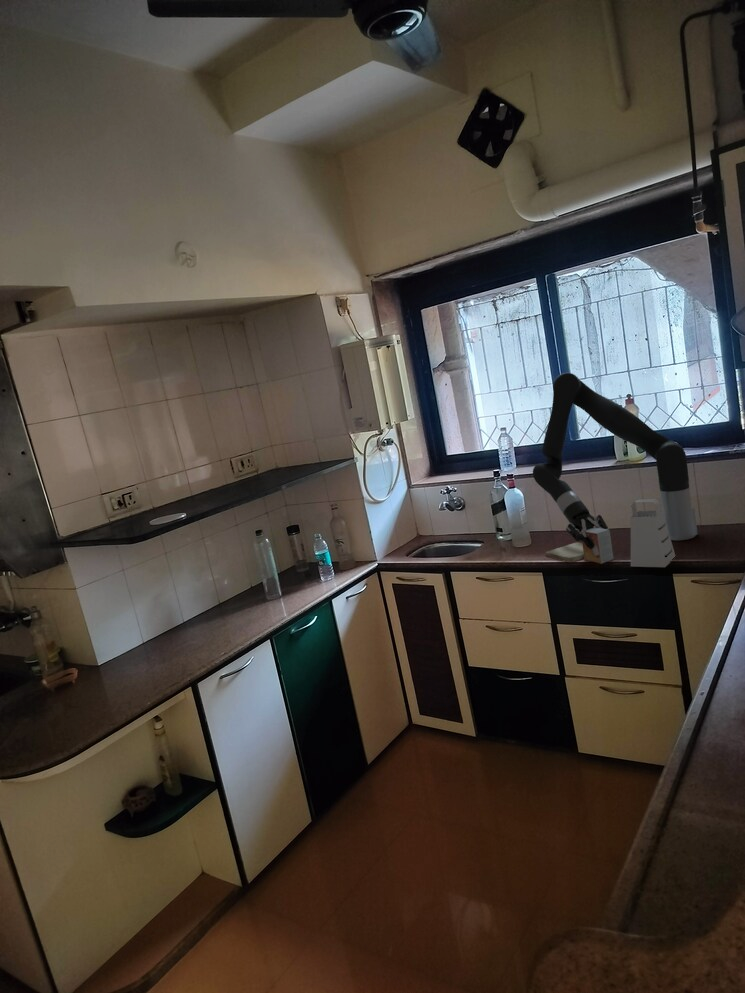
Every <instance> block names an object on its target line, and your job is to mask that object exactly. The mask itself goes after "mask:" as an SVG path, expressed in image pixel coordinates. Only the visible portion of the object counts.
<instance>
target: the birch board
mask: <svg viewBox="0 0 745 993" xmlns="http://www.w3.org/2000/svg"><path fill="white" fill-rule="evenodd" d="M545 556H546V557H548V556H549V557H548V558H551V557H553V558H552V559H555V558H556V560H559V559H560V561H563V560H564V562H567V563H574V562H577V561H580V560H582V559H584V552H583V545H582V542H579V541H576V542H573V543H569V544H566V545H564V546H561V547H557V548H555V549H554V548H553V549H551V550H548V551H545ZM579 559H580V560H579ZM576 560H577V561H576ZM573 561H574V562H573Z"/></svg>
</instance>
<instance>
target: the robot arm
mask: <svg viewBox="0 0 745 993" xmlns="http://www.w3.org/2000/svg"><path fill="white" fill-rule="evenodd" d="M552 391H553V393H552V397H553V398H552V406H551V412H550V417H549V420H548V424H547V428H546V431H545V435H544V437H543V438H544V440H543V443H542V448H541V454H542V455H543V456H544V457H546V463H541V462H540V463H538V464H536V465H535V466H534V467H533V468H532V469H533V470H532V476H533V477H532V478H533V479H534V481H535V482H536V483H537V485H538V486H540V487H541V489H543V490H544V491H545V492H547V493H548V494H549V495H550V496H551V498H552V499H553V501H554V502H555V503H556V505H557V507H558V509H559V510H560V512H561V513H562V515H564V517H565V519H567V521H568V522H569V524H568V525H567V527H566V528H565V530H566V531H567V532H568V533H569V534H570V536H571V537H573V539H574V540H575V541H576V542H579V541H581V542H582V541H583V542H584V543H585V544H586V546H587V547H588V548H590V549H593V547H594V544H593V543H592V541H591V540H590V538H589V537H587V534H586V533H585V532H586V530H587V529H591V528H593V527H595V528H601V529H609V527H608V525H607V524H606V521H605V520H604V518H603V517H602V515H601V514H598V515H597V516H592V514H591V513H590V510H589V509H588V507H587V506H586V505H585V504H584V502H583V501H582V500H581V499H580V497H579V496H578V495H577V494H576V493H575V492H574V490H573V489H572V488H571V486H570V484H568V483H567V481H564V480H561V479H560V478H561V476H562V473H563V457H562V456H563V454H562V453H563V449H564V446H565V442H566V436H567V432H568V431H567V429H568V422H569V417H570V413H571V410H572V406H573V405H574V406H576V407H578V408H580V409H582V410H583V411H584V412H585V413H586V414H587V415H589V416H590V417H591V418H592V419H593V420H594V422H596V423H597V424H599V425H600V426H601V427H602V428H604V429H605V430H606V431H608V432H610V433H611V434H612V435H614V436H616V437H618V439H619V438H620V439H621V440H623V441H625V442H626V443H630V444H632V445H634V446H637V447H638V448H640V449H641V450H643V451H644V452H645V453H646V454H648V455H649V456H650V457H651V458H653V459H654V461H655V462H656V469H657V476H658V485H659V494H660V499H661V500H660V501H661V507H662V508H661V509H662V510H663V514H664V517H665V521H666V524H667V528H668V531H669V535H670V539H671V541H685V540H690V539H693V538H695V537H696V536H697V535H698V527H697V526H698V524H697V519H696V518H697V517H696V511H695V510H696V509H695V508H694V507H693V506H692V498H691V491H690V478H689V476H690V475H689V469H688V468H689V467H688V460H687V454H686V452H685V450H684V448H683V446H682V445H680V443H678V442H676V441H675V440H672V439H670V438H667V437H666V436H664V435H662V434H661V433H659V432H657V431H656V430H654V429H653V428H651V427H650V426H649V425H647V423H646V422H644V421H643V420H642V419H640V418H639V417H638V416H636V414H634V413H633V412H631V411H630V410H628V409H627V408H625V407H623V406H622V405H620V404H619V403H618V402H615V401H614V400H611V399H610V398H608V397H606V396H604V395H601V394H599V393H598V392H596V391H594V390H593V389H592V388H591V387H589V386H588V385H587V384H585V383H584V382H583V381H582V380H581V379H580V378H579V377H578V376H577V375H576V374H574V373H572V372H563V373H561V374H558V375H557V377H556V378H555V379H554V381H553V384H552ZM582 534H583V535H582Z"/></svg>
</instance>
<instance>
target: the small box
mask: <svg viewBox="0 0 745 993" xmlns="http://www.w3.org/2000/svg"><path fill="white" fill-rule="evenodd" d="M585 533H586V534H587V537H589V538H590V540H591V541H592V543H593V544H594V547H593V549H590V548H588V547H587V546H586V544H585V543H584V542H583V541H581V543H582V545H583V552H584V558H583V559H584V561H589V562H592V563H598V564H600V565H602V564H605V563H607V562H610V561H612V560H614V554H613V546H612V538H611V532H610V529H609V528H608V529H601V528H595V526H594V527H593V528H591V529H587V530H586V532H585ZM582 535H583V534H582Z"/></svg>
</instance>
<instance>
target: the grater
mask: <svg viewBox="0 0 745 993" xmlns="http://www.w3.org/2000/svg"><path fill="white" fill-rule="evenodd" d="M651 502H652V503H653V504H654V506H655V510H639V511H637V504H636V503H651ZM631 513H632V515H631V517H630V567H636V568H638V567H640V568H642V567H643V568H666V567H667V566H668V565H669V564H670V563H671V562H672V561H673V560H674V559H675V558H676V557H675V556H676V554H675V550H674V546H673V543H672V540H671V539H670V535H669V531H668V528H667V524H666V521H665V517H664V514H663V509H662V510H661V505H660V501H659V500H658V499H656V498H648V499H647V498H645V499H636V500H635V501H633V503H632V505H631ZM665 556H667V557H665ZM674 557H675V558H674ZM673 558H674V559H673ZM672 559H673V560H672ZM671 560H672V561H671ZM670 561H671V562H670Z"/></svg>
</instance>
